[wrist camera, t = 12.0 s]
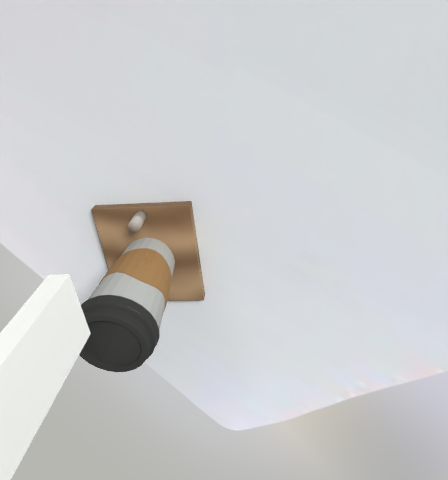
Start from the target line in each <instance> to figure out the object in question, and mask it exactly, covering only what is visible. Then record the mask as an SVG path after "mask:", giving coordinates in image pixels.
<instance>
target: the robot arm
mask: <svg viewBox="0 0 448 480" xmlns="http://www.w3.org/2000/svg"><path fill="white" fill-rule="evenodd" d="M90 334H91V333H90V330H89V327H88V325H87V322H86V319H85V316H84V313H83V311H82V308H81V305H80V302H79V299H78V297H77V294H76V291H75V288H74V285H73V283H72V280H71V277H70V274H63V275H48V276H47V278H46V279H45V280H44V281H43V282H42V284H41V285H40V286H39V287H38V289H37V290H36V291H35V292H34V293H33V294H32V296H31V297H30V298H29V299H28V301H27V302H26V303H25V304H24V305H23V306H22V308H21V309H20V310H19V311H18V313H17V314H16V315H15V316H14V317H13V319H12V320H11V321H10V322H9V323H8V325H7V326H6V327H5V328H4V329H3V331H2V332H1V333H0V480H11V478H12V477H13V475H14V473H15V471H16V469H17V467H18V466H19V464H20V462H21V460H22V458H23V456H24V455H25V453H26V451H27V449H28V447H29V445H30V443H31V442H32V440H33V438H34V436H35V435H36V433H37V431H38V429H39V427H40V425H41V424H42V422H43V420H44V418H45V416H46V414H47V412H48V411H49V409H50V407H51V405H52V403H53V402H54V400H55V398H56V396H57V394H58V392H59V391H60V389H61V387H62V385H63V383H64V381H65V379H66V378H67V376H68V374H69V372H70V370H71V369H72V367H73V365H74V363H75V361H76V360H77V358H78V356H79V354H80V352H81V350H82V349H83V347H84V345H85V343H86V341H87V339H88V338H89V336H90Z"/></svg>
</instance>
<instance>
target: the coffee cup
mask: <svg viewBox="0 0 448 480" xmlns="http://www.w3.org/2000/svg"><path fill="white" fill-rule="evenodd" d="M174 266H175V260H174V256H173V254H172V252H171V250H170V249H169V247H168V246H167V245H166V244H165V243H163V242H161V241H160V240H157V239H154V238H141V239H138V240H135V241H133V242H132V243H130V244H129V245H128V247H127V248H126V249H125V251H124V252H123V253H122V255H121V256H120V257H119V258H118V259H117V260H116V262H115V263H114V264H113V266H112V267H111V268H110V270H109V271H108V272H107V274H106V275H105V276H104V278H103V279H102V280H101V282H100V283H99V286H98V287H97V288H96V290H95V291H94V292H93V294H92V295H91V296H90V298H89V299H88V300H87V301H86V302H84V303H83V304H82V305H81V308H82V311H83V313H84V316H85V319H86V322H87V325H88V327H89V330H90V333H91V334H90V336H89V338H88V339H87V341H86V343H85V345H84V347H83V349H82V350H81V352H80V354H79V355H80V356H81V357H82V358H83V359H85V360H86V361H87V362H88V363H90V364H92V365H94V366H96V367H98V368H101V369H104V370H107V371H113V372H126V371H130V370H133V369H136V368H137V367H139V366H141V365H142V364H143V362H144V361H145V360H146V359H148V357H149V356H150V355H151V354H152V353H153V350H154V348H155V346H156V345H157V342H158V340H159V328H160V324H161V320H162V316H163V312H164V310H165V307H166V303H167V299H168V294H169V290H170V286H171V282H172V275H173V271H174Z"/></svg>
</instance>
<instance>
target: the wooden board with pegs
mask: <svg viewBox="0 0 448 480" xmlns="http://www.w3.org/2000/svg"><path fill="white" fill-rule="evenodd" d="M91 211H92V214H93V217H94V221H95V224H96V228H97V231H98V235H99V238H100V241H101V245H102V248H103V252H104V255H105V258H106V262H107V265H108V269H109V270H110V268H111V267H112V266H113V264H114V263H115V262H116V260H117V259H118V258H119V257H120V256H121V255H122V253H123V252H124V251H125V249H126V248H127V247H128V245H129V244H130V243H132V242H133V241H135V240H138V239H141V238H154V239H157V240H160V241H161V242H163V243H165V244H166V245H167V246H168V247H169V249H170V250H171V252H172V254H173V256H174V260H175V266H174V271H173V275H172V282H171V286H170V290H169V294H168V299H167V301H179V300H204V296H205V292H204V285H203V279H202V272H201V265H200V258H199V251H198V244H197V237H196V230H195V224H194V217H193V210H192V203H191V201H186V202H163V203H140V204H117V205H95V206H94V207H93V208H92V210H91Z"/></svg>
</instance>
